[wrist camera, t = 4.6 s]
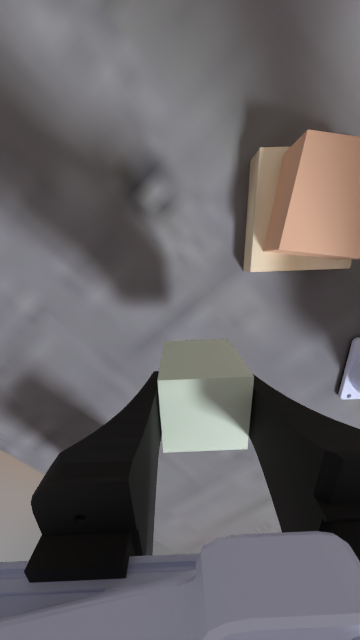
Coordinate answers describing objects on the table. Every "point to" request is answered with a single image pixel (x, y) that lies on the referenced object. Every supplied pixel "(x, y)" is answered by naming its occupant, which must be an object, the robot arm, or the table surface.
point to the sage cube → (204, 396)
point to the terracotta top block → (318, 198)
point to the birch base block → (258, 217)
